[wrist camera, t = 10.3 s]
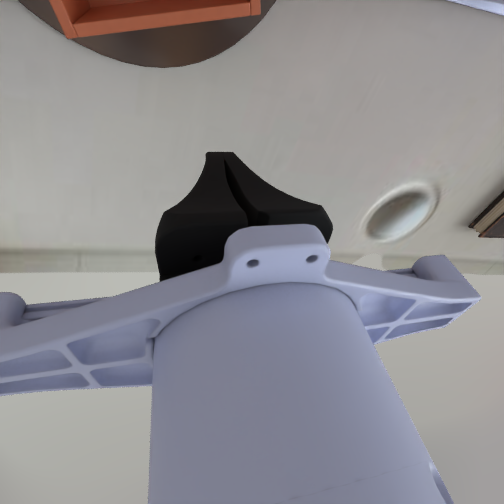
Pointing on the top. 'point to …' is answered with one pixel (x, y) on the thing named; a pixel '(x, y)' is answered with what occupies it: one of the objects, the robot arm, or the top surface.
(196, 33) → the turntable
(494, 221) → the hardcover book
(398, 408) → the robot arm
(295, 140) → the top surface
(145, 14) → the bin
